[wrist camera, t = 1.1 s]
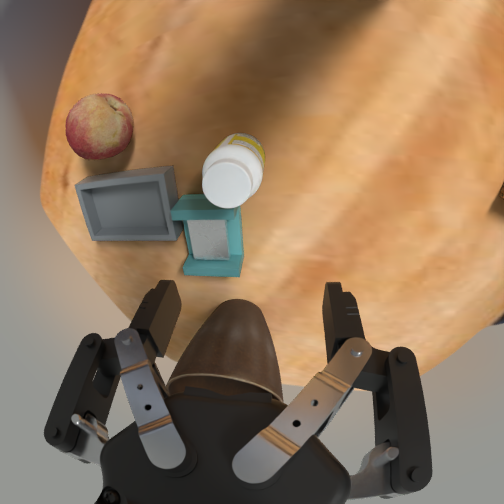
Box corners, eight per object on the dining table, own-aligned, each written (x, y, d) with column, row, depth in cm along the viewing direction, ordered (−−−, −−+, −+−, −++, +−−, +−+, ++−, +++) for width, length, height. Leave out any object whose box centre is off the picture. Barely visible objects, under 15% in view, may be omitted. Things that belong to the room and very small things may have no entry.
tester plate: (189, 215, 31) (186, 219, 30) (226, 214, 31) (224, 218, 30) (196, 254, 34) (194, 259, 33) (230, 255, 34) (229, 260, 33)
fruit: (153, 137, 28) (118, 156, 22) (105, 158, 30) (68, 180, 23) (134, 80, 24) (94, 83, 18) (87, 106, 26) (45, 118, 19)
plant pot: (178, 312, 45) (149, 394, 31) (229, 261, 37) (203, 360, 24) (246, 351, 49) (236, 429, 36) (305, 313, 42) (309, 406, 29)
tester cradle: (183, 194, 32) (170, 210, 29) (239, 193, 32) (233, 209, 28) (193, 254, 37) (184, 275, 34) (243, 255, 37) (239, 277, 33)
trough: (87, 176, 32) (74, 185, 29) (173, 165, 30) (163, 173, 28) (102, 230, 36) (92, 240, 34) (183, 228, 35) (176, 240, 33)
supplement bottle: (225, 182, 31) (205, 222, 23) (211, 139, 28) (182, 163, 20) (271, 172, 30) (267, 208, 22) (258, 126, 27) (249, 144, 19)
